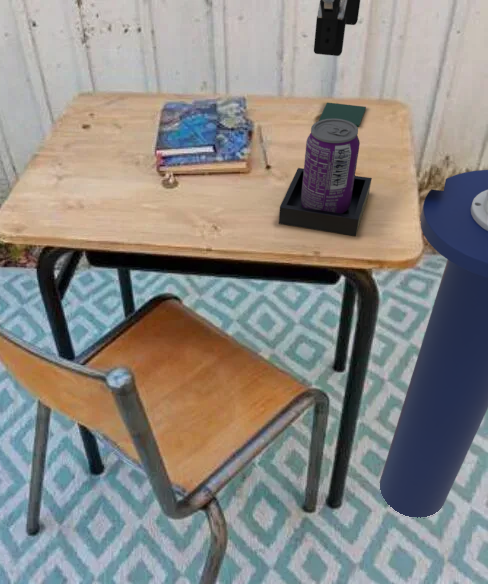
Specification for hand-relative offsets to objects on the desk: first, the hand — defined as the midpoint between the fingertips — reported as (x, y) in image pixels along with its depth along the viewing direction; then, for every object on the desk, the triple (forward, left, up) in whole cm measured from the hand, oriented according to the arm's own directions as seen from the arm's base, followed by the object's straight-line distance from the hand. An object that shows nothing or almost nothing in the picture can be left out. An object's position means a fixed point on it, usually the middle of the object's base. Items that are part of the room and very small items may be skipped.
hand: (336, 38), depth 78 cm
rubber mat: (+2, -29, -24) cm, 38 cm away
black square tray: (-1, 0, -24) cm, 24 cm away
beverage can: (-1, 0, -24) cm, 24 cm away
